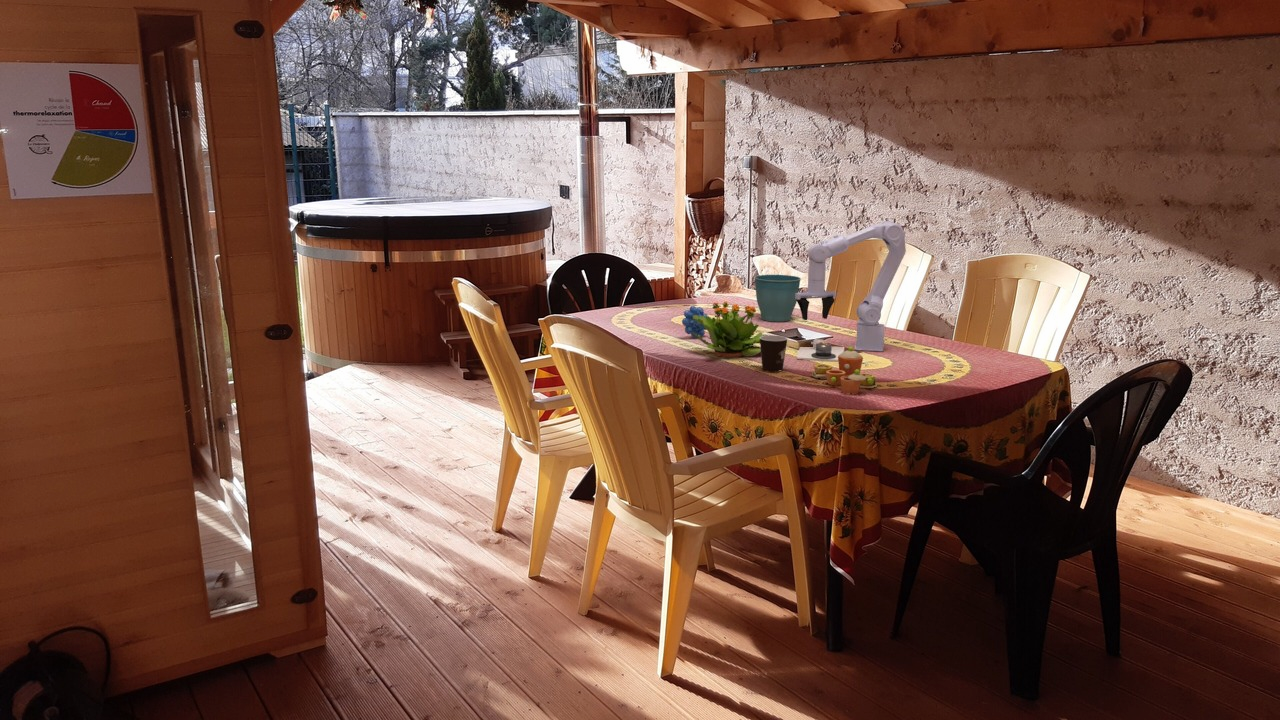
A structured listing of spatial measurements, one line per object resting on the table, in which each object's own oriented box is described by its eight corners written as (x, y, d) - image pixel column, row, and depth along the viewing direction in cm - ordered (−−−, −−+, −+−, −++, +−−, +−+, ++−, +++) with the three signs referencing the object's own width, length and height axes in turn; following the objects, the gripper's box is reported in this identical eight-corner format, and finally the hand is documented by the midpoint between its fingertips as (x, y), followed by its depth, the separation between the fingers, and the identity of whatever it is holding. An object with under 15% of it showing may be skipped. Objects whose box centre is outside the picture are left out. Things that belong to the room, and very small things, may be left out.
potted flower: (732, 366, 302) (733, 312, 298) (675, 355, 318) (676, 303, 314) (777, 353, 320) (778, 302, 316) (721, 343, 336) (722, 294, 332)
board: (844, 348, 328) (844, 338, 327) (843, 361, 309) (843, 351, 308) (800, 346, 331) (800, 336, 330) (796, 359, 312) (797, 348, 311)
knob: (834, 356, 312) (834, 344, 311) (819, 357, 311) (820, 345, 310) (827, 352, 317) (827, 341, 316) (812, 353, 316) (813, 342, 315)
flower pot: (767, 313, 391) (768, 272, 387) (806, 318, 381) (808, 276, 377) (745, 320, 377) (746, 278, 373) (785, 325, 367) (787, 282, 363)
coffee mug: (769, 373, 294) (770, 342, 291) (753, 367, 301) (754, 336, 299) (799, 369, 299) (800, 338, 296) (783, 363, 306) (784, 333, 304)
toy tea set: (805, 375, 293) (807, 344, 291) (852, 372, 297) (853, 342, 294) (842, 397, 268) (844, 364, 266) (892, 394, 272) (894, 361, 270)
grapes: (689, 341, 338) (689, 308, 335) (678, 338, 343) (678, 305, 341) (715, 338, 344) (715, 305, 341) (704, 335, 350) (704, 302, 347)
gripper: (829, 277, 328) (827, 315, 331) (791, 279, 324) (790, 318, 327) (840, 280, 322) (837, 319, 325) (801, 282, 317) (799, 321, 320)
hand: (814, 319), depth 325 cm, fingers open, 7 cm apart
